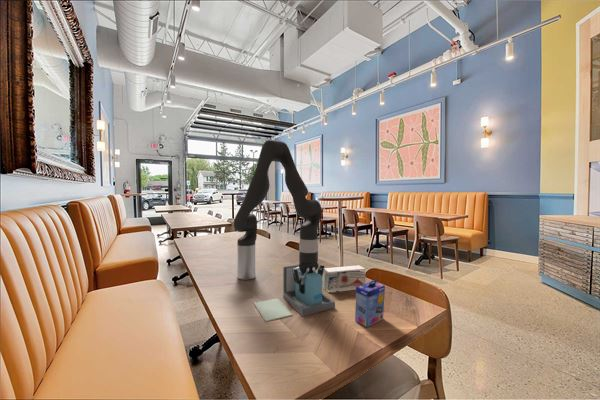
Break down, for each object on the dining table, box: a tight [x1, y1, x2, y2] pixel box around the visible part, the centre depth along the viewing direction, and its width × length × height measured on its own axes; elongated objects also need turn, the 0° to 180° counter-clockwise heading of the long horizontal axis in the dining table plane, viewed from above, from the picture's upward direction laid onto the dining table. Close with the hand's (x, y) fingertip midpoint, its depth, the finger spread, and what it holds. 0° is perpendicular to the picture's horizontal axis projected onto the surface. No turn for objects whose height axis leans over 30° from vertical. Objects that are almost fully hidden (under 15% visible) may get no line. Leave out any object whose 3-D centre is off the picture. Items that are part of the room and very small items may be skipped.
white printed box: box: [322, 264, 367, 293], centre depth 114 cm, size 20×6×9 cm, turn 107°
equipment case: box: [282, 264, 336, 317], centre depth 98 cm, size 18×14×13 cm
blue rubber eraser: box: [295, 270, 323, 306], centre depth 98 cm, size 12×4×12 cm, turn 36°
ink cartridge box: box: [354, 278, 386, 328], centre depth 85 cm, size 10×6×14 cm, turn 128°
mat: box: [253, 298, 293, 323], centre depth 92 cm, size 15×10×1 cm, turn 26°
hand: (308, 291), depth 98 cm, fingers closed on blue rubber eraser, 5 cm apart
